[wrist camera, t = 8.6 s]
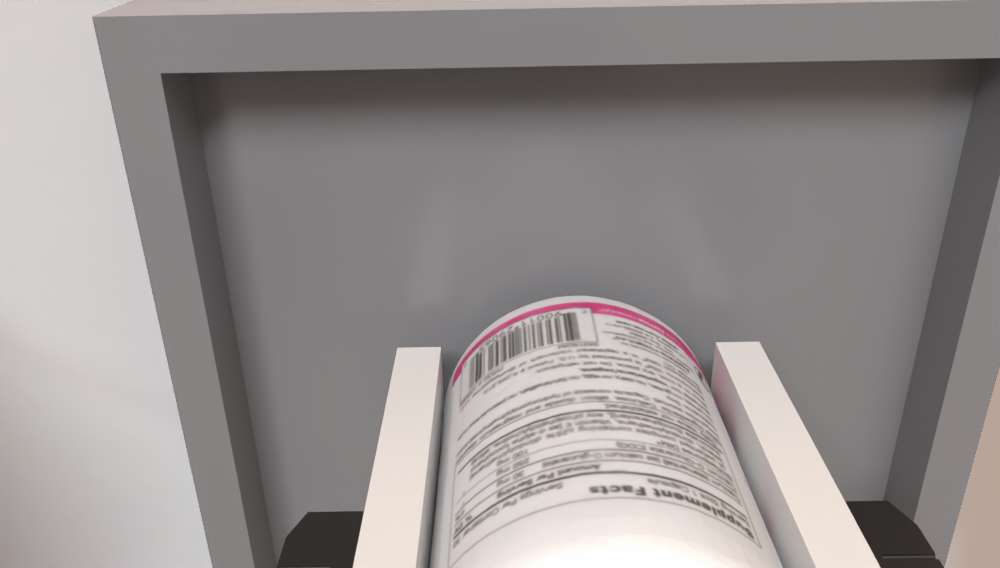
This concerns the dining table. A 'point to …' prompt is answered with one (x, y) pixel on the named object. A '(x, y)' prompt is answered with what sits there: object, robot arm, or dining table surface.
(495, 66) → the tray
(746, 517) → the pill bottle
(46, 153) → the dining table surface
